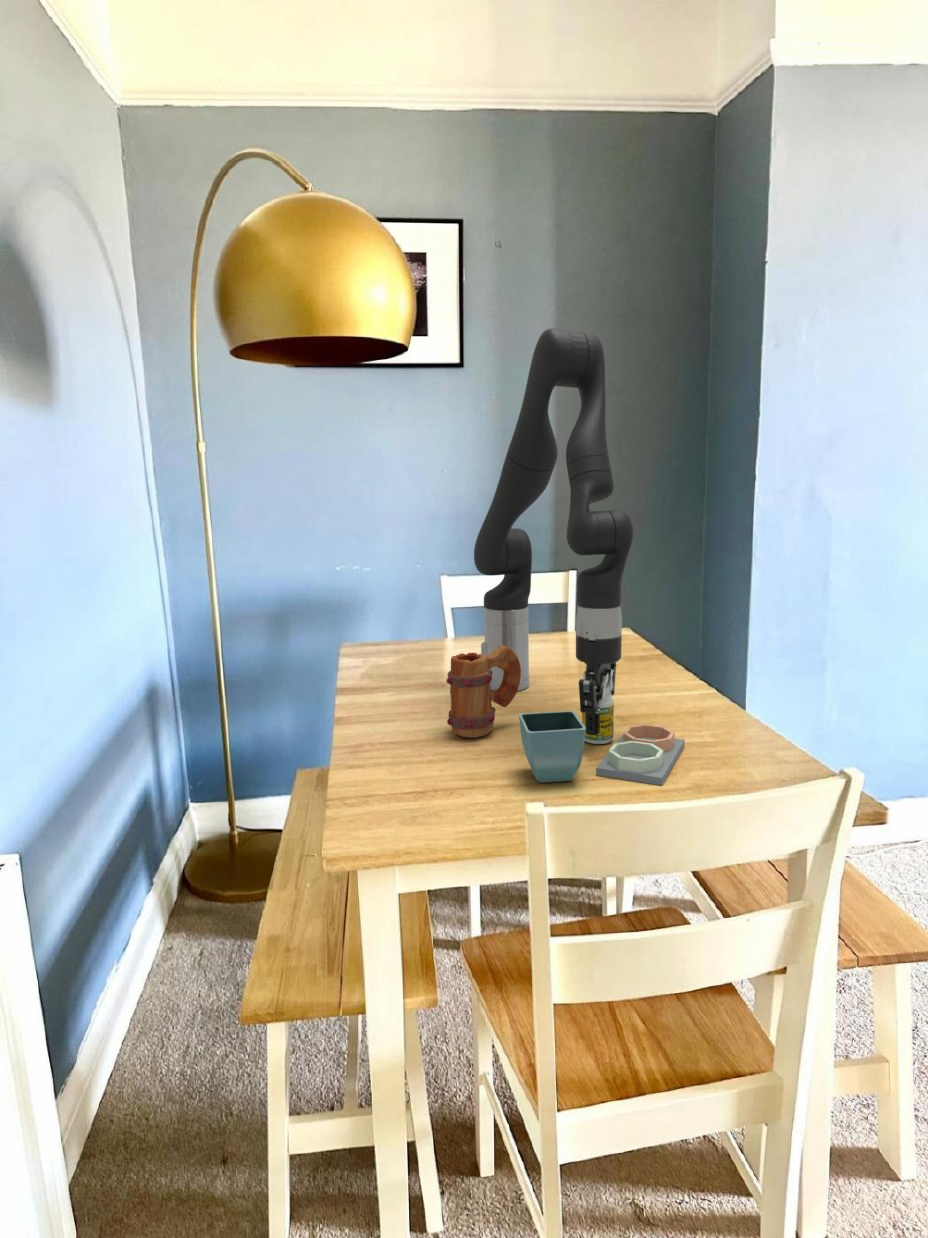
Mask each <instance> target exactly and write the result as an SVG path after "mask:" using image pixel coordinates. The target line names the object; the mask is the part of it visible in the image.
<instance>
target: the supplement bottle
mask: <svg viewBox="0 0 928 1238" xmlns="http://www.w3.org/2000/svg"><path fill="white" fill-rule="evenodd" d="M609 693H610V685H609V684H606V689H605V697H604V700H602V701H601V706H600V731H599V734H598V735H589V734H587V733H585V741H584V742H587V743H589V744H594V745H602V744H603V745H604V744H608V743H611V742H612V740H613V739H614V726H615V725H614V721H615V720H614V717H615V716H614V715H615V714H614V713H615V711H614V710H615V709H614V708H615V702H614V699H613V697H612V696H611V697H610V696H609ZM599 694H600V692H599V693H597V692H596V695H599ZM589 706H592V703H591V702H590V701H589ZM581 722H582V723H583V725H584V726H585V727H586V713H583V712H581Z"/></svg>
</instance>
